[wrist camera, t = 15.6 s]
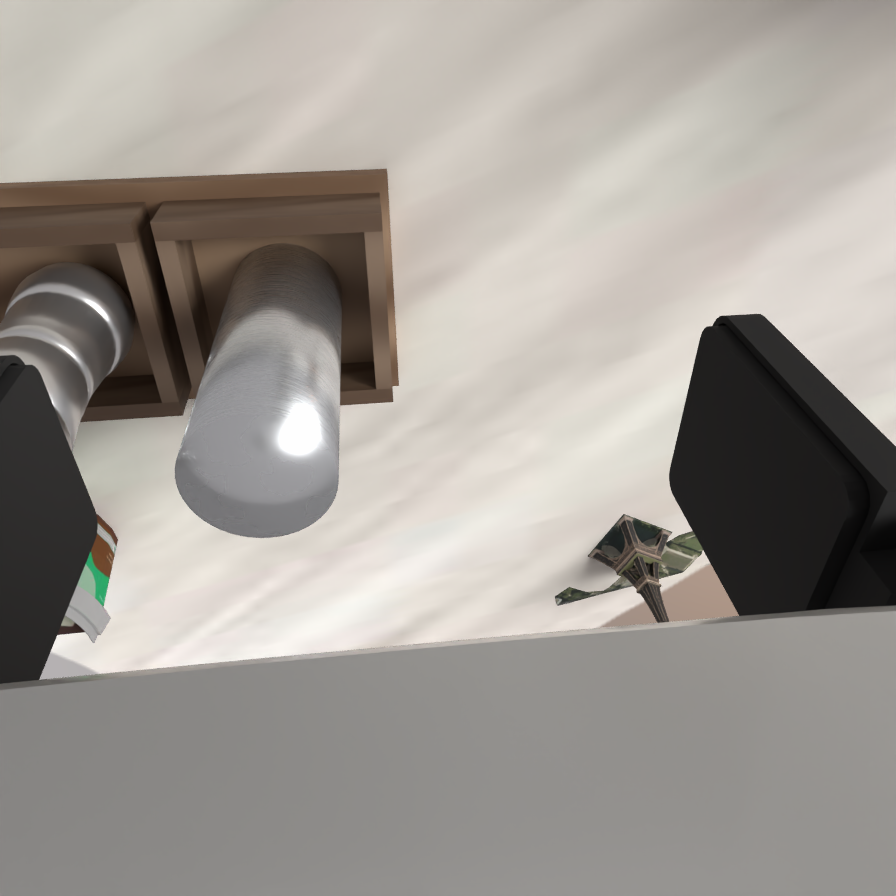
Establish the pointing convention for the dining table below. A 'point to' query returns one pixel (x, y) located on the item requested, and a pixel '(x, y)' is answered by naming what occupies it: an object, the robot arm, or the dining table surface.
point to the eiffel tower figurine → (640, 561)
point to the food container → (92, 587)
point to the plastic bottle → (69, 333)
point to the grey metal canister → (268, 400)
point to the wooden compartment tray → (207, 267)
